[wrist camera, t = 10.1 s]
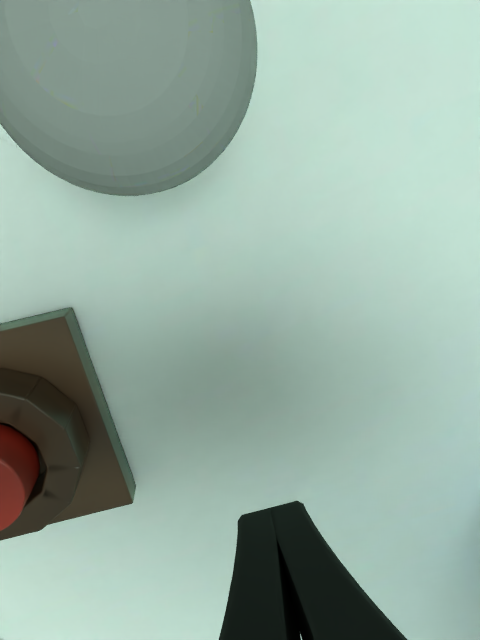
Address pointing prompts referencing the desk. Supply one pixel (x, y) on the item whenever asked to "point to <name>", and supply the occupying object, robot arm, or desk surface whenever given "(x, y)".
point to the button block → (60, 422)
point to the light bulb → (125, 87)
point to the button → (15, 473)
